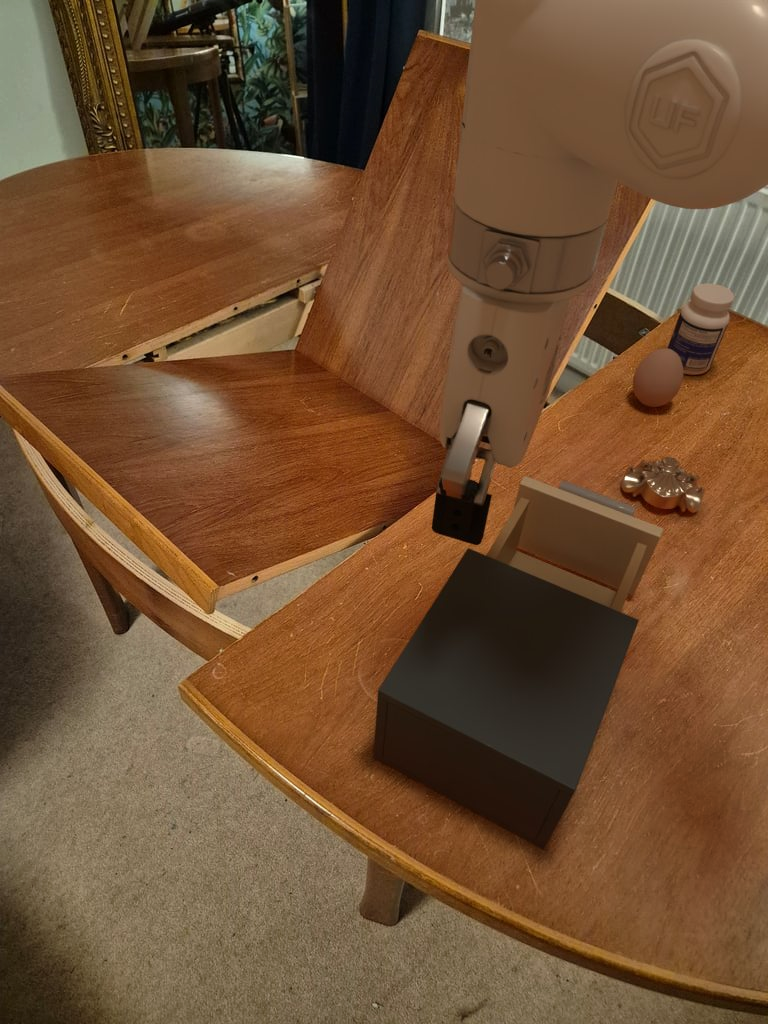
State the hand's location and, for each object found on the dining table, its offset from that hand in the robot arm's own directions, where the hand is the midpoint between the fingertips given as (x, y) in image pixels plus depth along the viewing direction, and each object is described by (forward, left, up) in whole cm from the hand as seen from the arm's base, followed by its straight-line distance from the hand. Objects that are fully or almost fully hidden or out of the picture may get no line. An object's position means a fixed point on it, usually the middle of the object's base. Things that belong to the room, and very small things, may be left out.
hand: (478, 486), depth 49 cm
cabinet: (-6, +5, -19) cm, 20 cm away
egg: (-6, -43, -19) cm, 48 cm away
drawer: (-6, -9, -18) cm, 21 cm away
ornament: (-11, -28, -19) cm, 36 cm away
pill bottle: (-8, -54, -19) cm, 58 cm away
